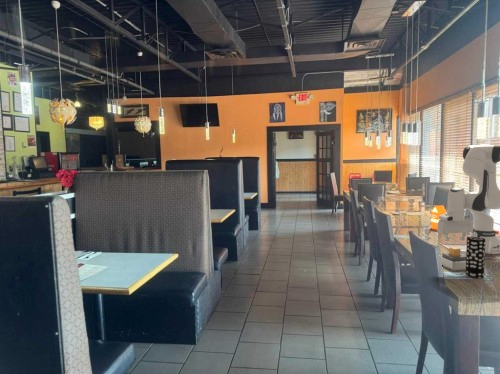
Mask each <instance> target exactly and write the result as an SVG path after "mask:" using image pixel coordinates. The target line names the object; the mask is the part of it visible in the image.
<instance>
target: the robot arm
mask: <svg viewBox="0 0 500 374" xmlns="http://www.w3.org/2000/svg"><path fill="white" fill-rule="evenodd" d="M462 158H463V160H464V161H463V162H462V163H463V164H462V171H463V173H464V174H465V175H466V176H467V177H469V178H472V179H473V180H475V184H476V185H477V186H479V187H478V191H469V192H468V191H467V192H465V188H463V187H456V186H455V187H452V188H449V190H448V193H447V208H446V209H447V210H446V212H447V213H445V214H442V215H440V216H439V219H440V220H439V221H438V225H437V233H439V234H442V235H443V236H444V238H445V239H444V241H446V242H450V240H451V239H450V237H449V234H457V233H459V234H461V233H462V235H461V236H459V237H460V238H459V240H461V241H464V240H466V236H467V234H468V233H472V237H480V238H484V239H485V254H489V255H499V254H500V238H499V237H498V236H497V235H499V234H500V231H498V230H494V223H495V221H494V218H493V217H492V216H491V215H489V214H488V213H485V212H484V211H485V210H500V188H499V186H498V183H497V164H498V163H499V162H500V145H497V144H496V145H493V144H476V145H475V144H474V145H473V144H470V145H466V146H465V147H464V148H463V150H462ZM466 210H469V212H470V213H471V215H472V216H471V215H465V213H466V212H465V211H466Z"/></svg>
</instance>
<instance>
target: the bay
mask: <svg viewBox="0 0 500 374" xmlns="http://www.w3.org/2000/svg"><path fill="white" fill-rule="evenodd" d="M440 256H441V259H442V264H443V266H442V267H444V268H446V269H447V270H451V271H454V272H455V271H466V253H464V254H463V253H460V256H454V257H453V256H451V255H449V252H444V253H442V252H441V255H440Z"/></svg>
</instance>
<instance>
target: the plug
mask: <svg viewBox="0 0 500 374" xmlns="http://www.w3.org/2000/svg"><path fill="white" fill-rule="evenodd" d="M448 253H449V255H451V256H453V257H454V256H460V254H461V248H459V247H457V246H452V247H449V249H448Z"/></svg>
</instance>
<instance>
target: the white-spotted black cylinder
mask: <svg viewBox="0 0 500 374" xmlns="http://www.w3.org/2000/svg"><path fill="white" fill-rule="evenodd" d="M465 254H466V270H465V277H468V278H471V279H483V278H484V277H485V255H486V253H485V239H484V238H480V237H473V236H467V237H466V250H465Z"/></svg>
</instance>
